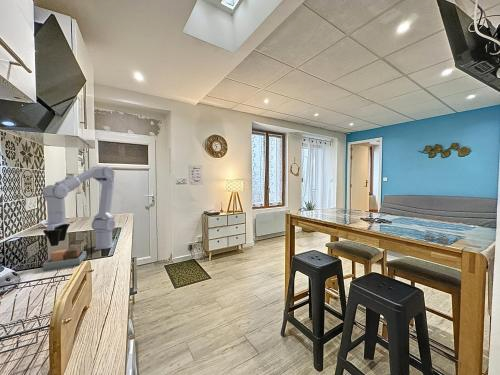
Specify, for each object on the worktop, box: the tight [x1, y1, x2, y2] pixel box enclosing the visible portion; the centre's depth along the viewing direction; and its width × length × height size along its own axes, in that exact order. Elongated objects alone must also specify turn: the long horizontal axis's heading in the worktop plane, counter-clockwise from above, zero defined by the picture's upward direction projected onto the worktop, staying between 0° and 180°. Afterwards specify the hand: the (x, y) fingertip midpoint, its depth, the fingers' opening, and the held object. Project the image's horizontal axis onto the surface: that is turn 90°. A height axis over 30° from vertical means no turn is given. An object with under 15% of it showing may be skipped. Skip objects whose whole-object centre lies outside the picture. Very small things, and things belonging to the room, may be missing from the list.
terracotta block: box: [50, 248, 67, 262], centre depth 92 cm, size 4×4×5 cm
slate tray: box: [42, 250, 87, 272], centre depth 93 cm, size 11×12×3 cm
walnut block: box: [66, 247, 81, 260], centre depth 94 cm, size 4×4×5 cm
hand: (58, 243), depth 92 cm, fingers open, 7 cm apart
